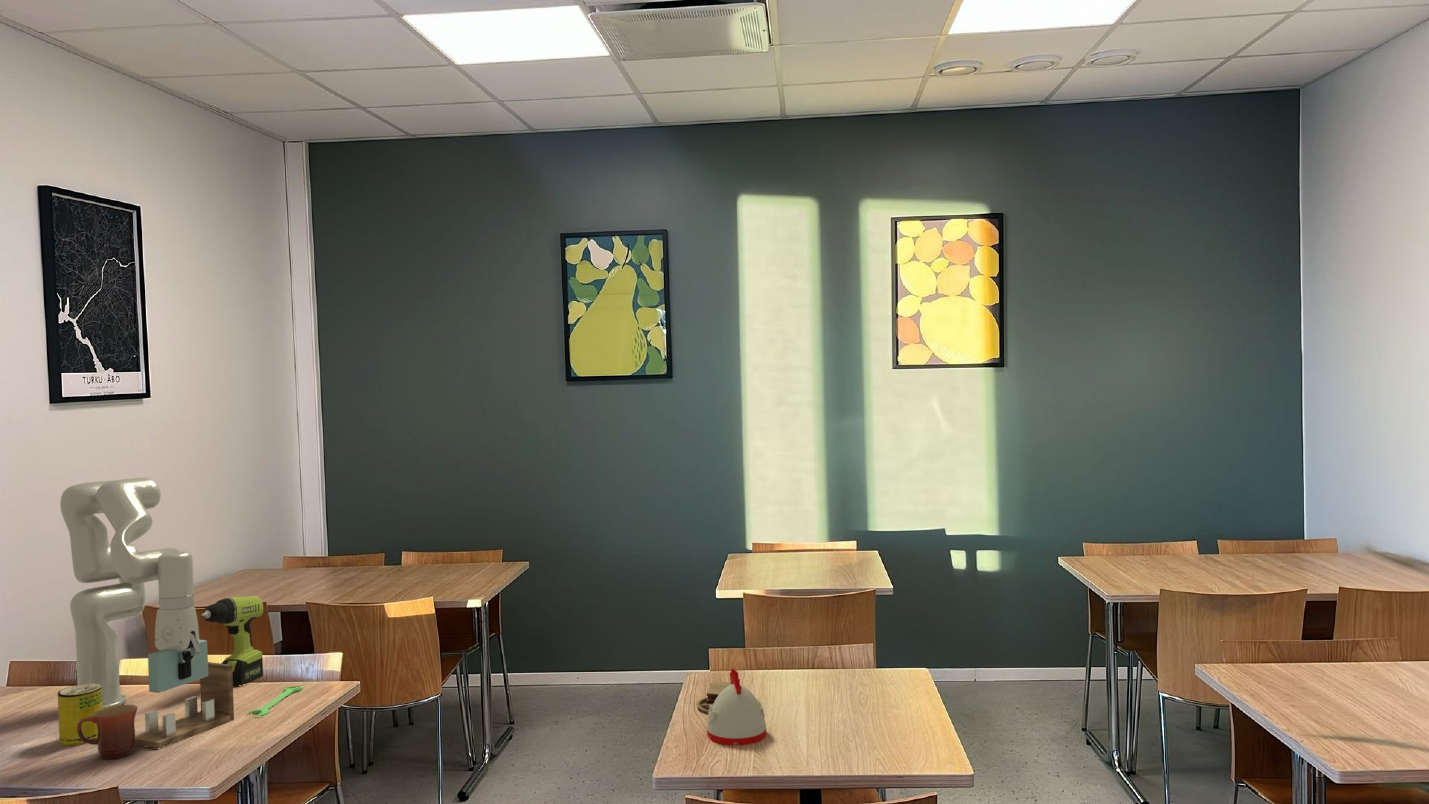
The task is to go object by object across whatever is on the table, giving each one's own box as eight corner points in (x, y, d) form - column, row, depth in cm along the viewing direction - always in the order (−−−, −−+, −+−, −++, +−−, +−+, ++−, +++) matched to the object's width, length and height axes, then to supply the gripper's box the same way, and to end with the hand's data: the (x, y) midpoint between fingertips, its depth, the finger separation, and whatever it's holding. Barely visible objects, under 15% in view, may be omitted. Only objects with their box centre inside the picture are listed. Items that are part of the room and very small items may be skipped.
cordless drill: (215, 698, 267) (212, 607, 266) (192, 697, 268) (189, 606, 267) (268, 673, 289) (265, 589, 289) (247, 672, 291) (244, 588, 290)
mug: (141, 745, 232) (140, 702, 232) (136, 758, 224) (134, 713, 224) (82, 754, 228) (80, 710, 227) (74, 767, 220) (72, 721, 219)
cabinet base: (159, 749, 229) (156, 689, 229) (128, 744, 233) (126, 685, 233) (234, 719, 249) (232, 664, 249) (205, 715, 253) (203, 661, 252)
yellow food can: (110, 730, 243) (108, 682, 243) (93, 743, 234) (91, 693, 234) (70, 733, 242) (68, 685, 241) (52, 746, 233) (50, 696, 232)
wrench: (243, 722, 250) (263, 722, 250) (242, 715, 250) (263, 714, 250) (288, 689, 275) (307, 689, 275) (288, 682, 275) (306, 682, 275)
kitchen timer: (757, 722, 239) (756, 661, 239) (773, 742, 226) (771, 677, 225) (702, 727, 236) (700, 665, 236) (714, 748, 223) (712, 682, 222)
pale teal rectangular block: (158, 693, 233) (156, 655, 233) (149, 691, 234) (147, 654, 234) (208, 676, 246) (207, 640, 246) (199, 675, 247) (198, 639, 247)
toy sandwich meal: (689, 713, 247) (688, 694, 247) (708, 697, 260) (708, 679, 259) (735, 718, 242) (735, 699, 242) (753, 701, 255) (753, 683, 255)
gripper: (139, 604, 239) (141, 679, 240) (187, 608, 233) (190, 685, 234) (166, 597, 246) (169, 670, 247) (214, 601, 240) (217, 676, 241)
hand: (179, 676), depth 240 cm, fingers closed on pale teal rectangular block, 3 cm apart
